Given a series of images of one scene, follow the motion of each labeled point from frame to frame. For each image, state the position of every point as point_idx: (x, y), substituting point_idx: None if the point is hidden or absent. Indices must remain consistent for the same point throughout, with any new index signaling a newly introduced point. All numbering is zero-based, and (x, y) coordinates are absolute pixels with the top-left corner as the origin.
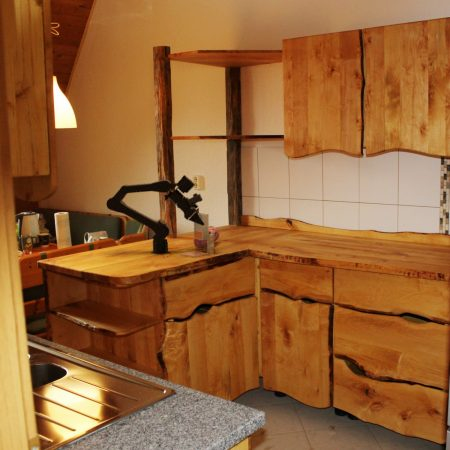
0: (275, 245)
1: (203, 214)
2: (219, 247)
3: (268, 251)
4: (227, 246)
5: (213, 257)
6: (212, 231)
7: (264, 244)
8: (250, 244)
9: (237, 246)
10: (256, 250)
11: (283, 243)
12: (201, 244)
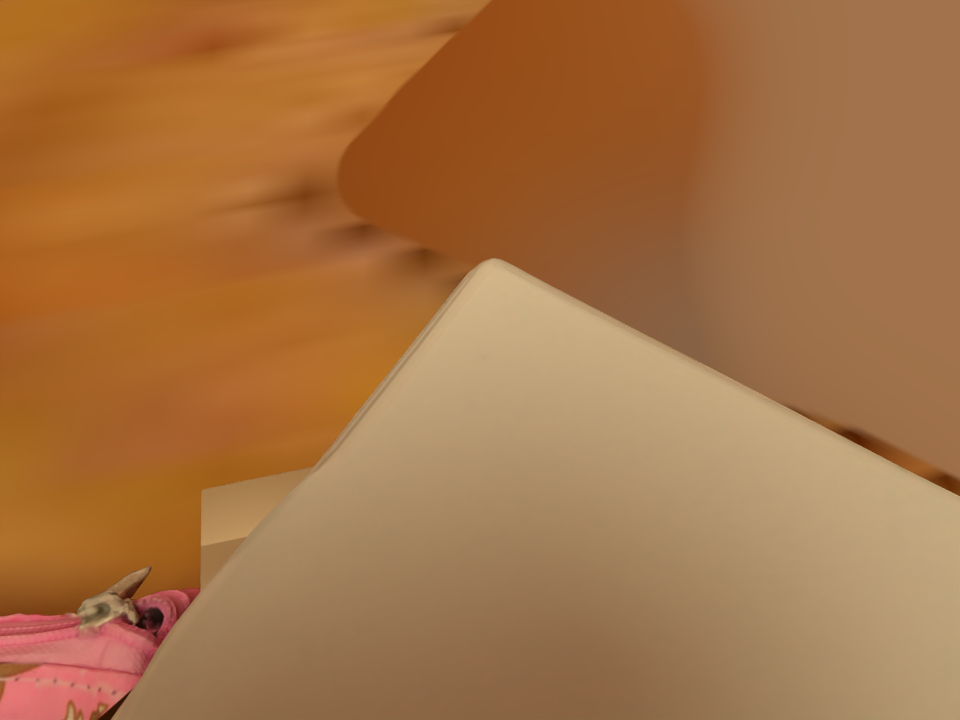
0: (117, 43)
1: (850, 486)
2: (145, 526)
3: (412, 42)
4: (87, 438)
5: (864, 441)
6: (252, 501)
7: (44, 121)
8: (10, 229)
9: (109, 327)
10: (364, 126)
11: (30, 12)
12: None
